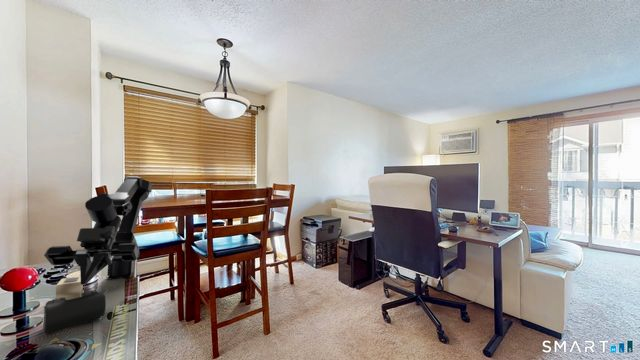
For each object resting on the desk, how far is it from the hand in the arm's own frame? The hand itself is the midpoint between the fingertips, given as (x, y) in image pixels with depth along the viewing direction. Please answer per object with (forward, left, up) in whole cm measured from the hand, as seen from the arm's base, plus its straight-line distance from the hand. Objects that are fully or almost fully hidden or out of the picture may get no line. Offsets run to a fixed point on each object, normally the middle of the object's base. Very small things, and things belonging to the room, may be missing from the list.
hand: (83, 284), depth 61 cm
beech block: (+7, -14, -8) cm, 18 cm away
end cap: (0, +4, -9) cm, 9 cm away
